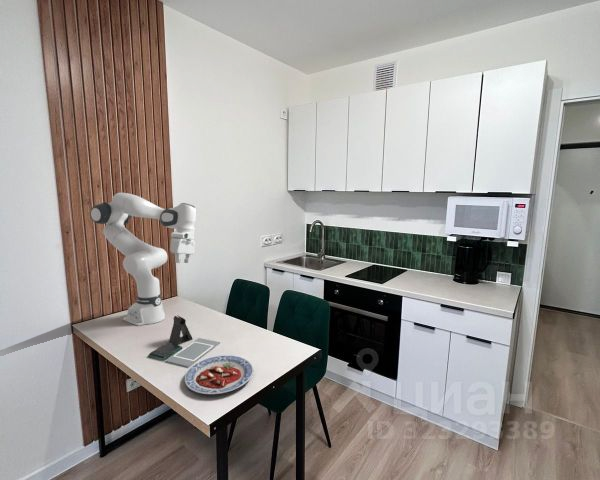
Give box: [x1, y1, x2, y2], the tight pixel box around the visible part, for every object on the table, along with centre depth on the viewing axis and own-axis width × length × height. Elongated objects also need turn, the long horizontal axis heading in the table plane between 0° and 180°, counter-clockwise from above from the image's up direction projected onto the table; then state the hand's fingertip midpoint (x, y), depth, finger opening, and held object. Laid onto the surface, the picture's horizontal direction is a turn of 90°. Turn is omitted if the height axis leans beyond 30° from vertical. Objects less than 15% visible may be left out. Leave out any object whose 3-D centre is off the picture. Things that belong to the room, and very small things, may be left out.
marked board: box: [164, 337, 221, 369], centre depth 147 cm, size 12×22×1 cm, turn 159°
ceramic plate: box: [184, 355, 254, 395], centre depth 128 cm, size 26×26×3 cm
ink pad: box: [147, 342, 183, 362], centre depth 146 cm, size 9×11×2 cm
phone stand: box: [168, 314, 193, 346], centre depth 156 cm, size 9×6×12 cm, turn 137°
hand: (182, 262), depth 164 cm, fingers open, 8 cm apart
